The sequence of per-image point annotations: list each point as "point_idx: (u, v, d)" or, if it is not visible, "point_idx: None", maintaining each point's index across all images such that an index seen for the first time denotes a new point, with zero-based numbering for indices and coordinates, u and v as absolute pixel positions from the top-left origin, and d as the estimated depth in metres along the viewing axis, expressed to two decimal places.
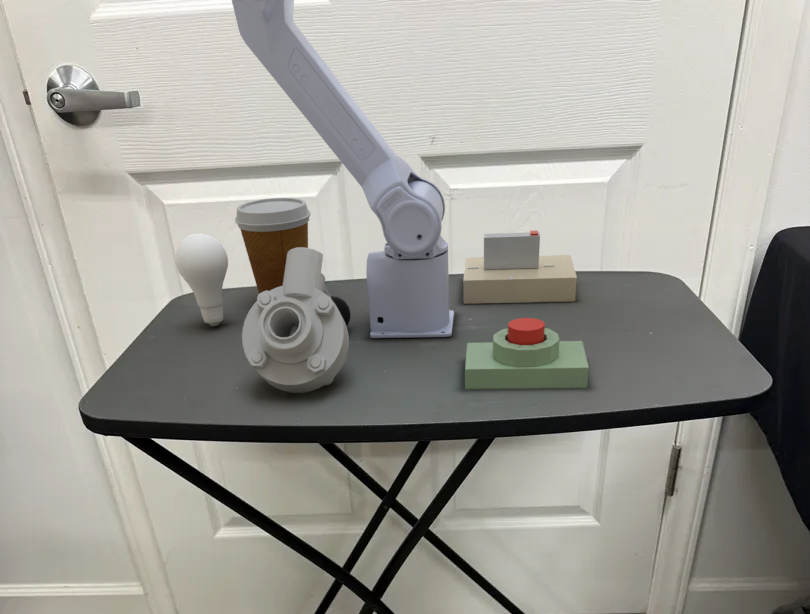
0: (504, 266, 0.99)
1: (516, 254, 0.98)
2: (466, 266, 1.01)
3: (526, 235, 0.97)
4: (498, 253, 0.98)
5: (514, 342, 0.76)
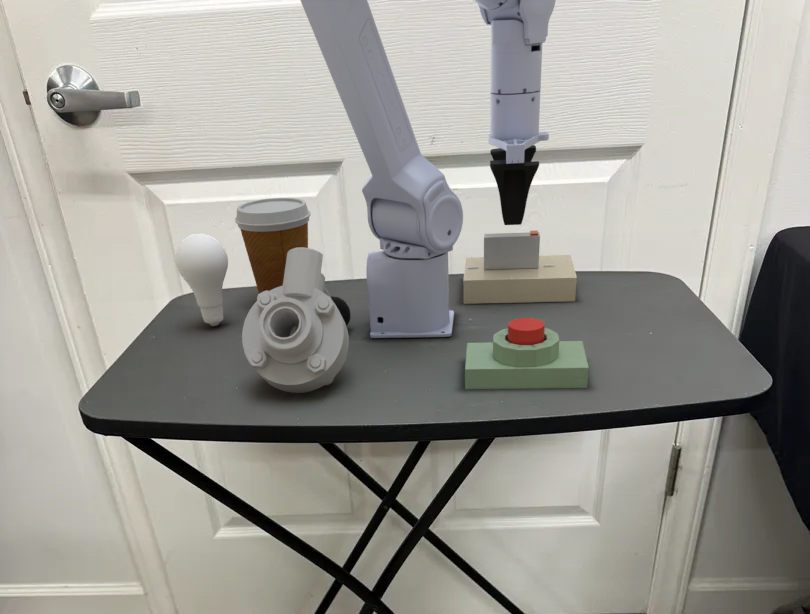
0: (504, 266, 0.99)
1: (516, 254, 0.98)
2: (466, 266, 1.01)
3: (526, 235, 0.97)
4: (498, 253, 0.98)
5: (514, 342, 0.76)
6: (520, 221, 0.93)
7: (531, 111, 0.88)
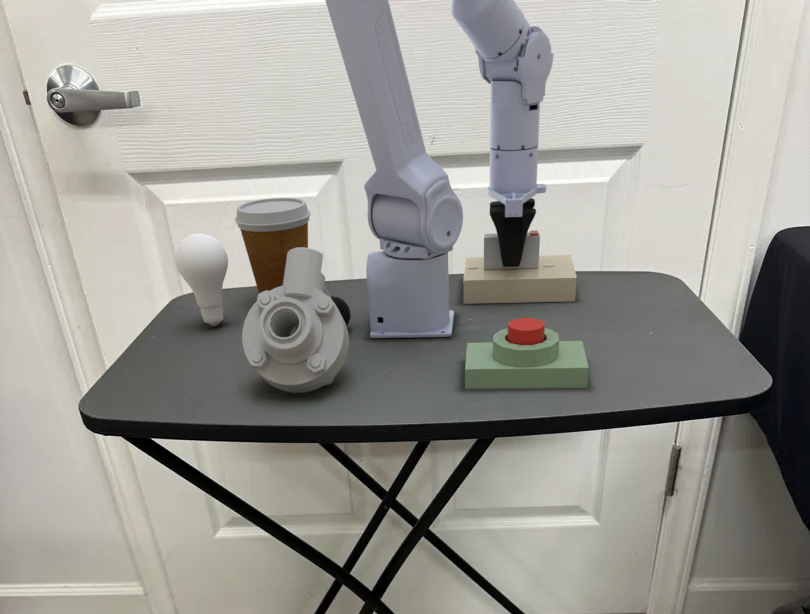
0: None
1: None
2: (466, 266, 1.01)
3: (526, 235, 0.97)
4: (498, 253, 0.98)
5: (514, 342, 0.76)
6: (518, 263, 0.98)
7: (529, 166, 0.91)
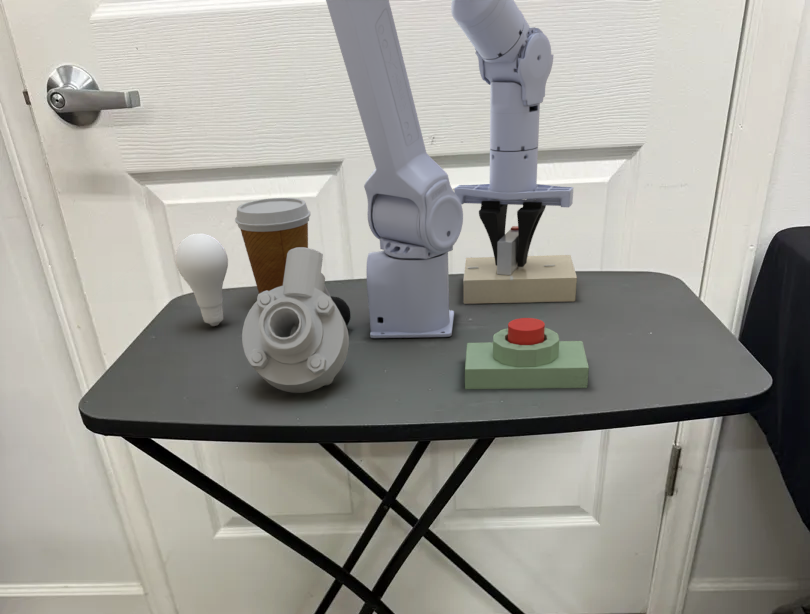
0: (516, 266, 0.99)
1: None
2: (466, 266, 1.01)
3: None
4: (514, 255, 0.97)
5: (514, 342, 0.76)
6: (526, 259, 1.00)
7: None
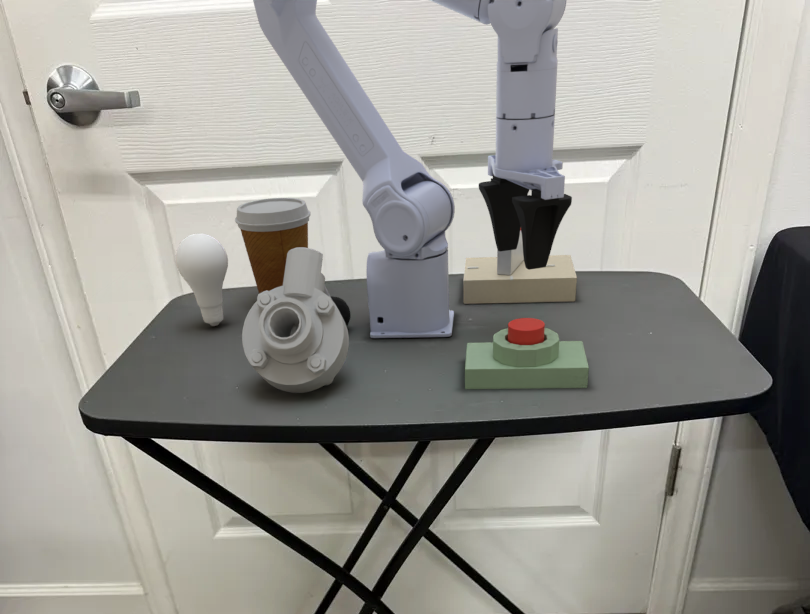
0: (516, 266, 0.99)
1: (519, 251, 0.99)
2: (466, 266, 1.01)
3: None
4: (514, 255, 0.97)
5: (514, 342, 0.76)
6: (545, 263, 0.80)
7: (551, 137, 0.75)
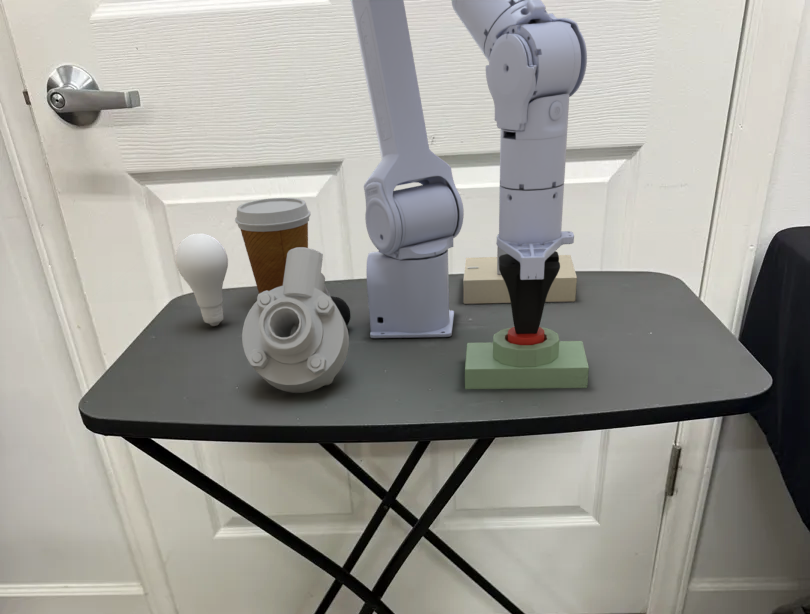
0: None
1: None
2: (466, 266, 1.01)
3: None
4: None
5: None
6: (535, 330, 0.76)
7: (552, 210, 0.68)
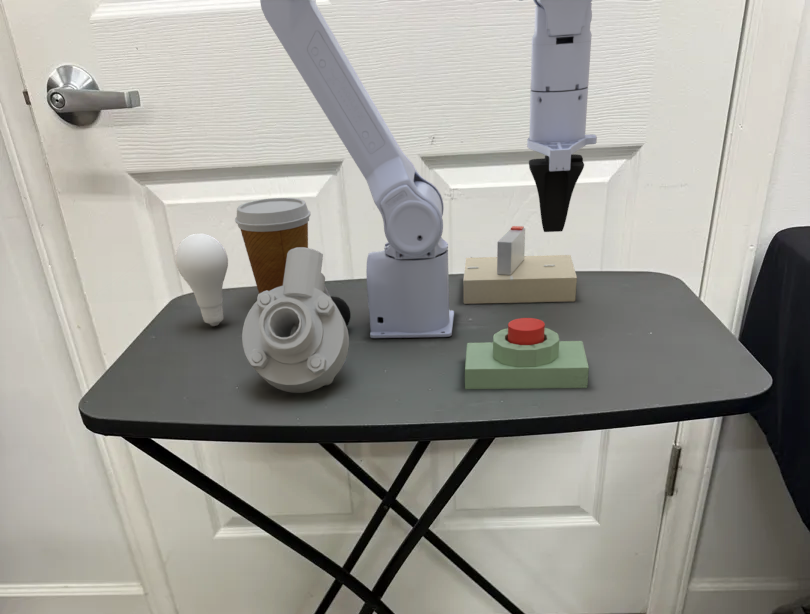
0: (516, 266, 0.99)
1: (519, 251, 0.99)
2: (466, 266, 1.01)
3: (519, 231, 0.99)
4: (514, 255, 0.97)
5: (514, 342, 0.76)
6: (561, 227, 0.84)
7: (577, 111, 0.77)
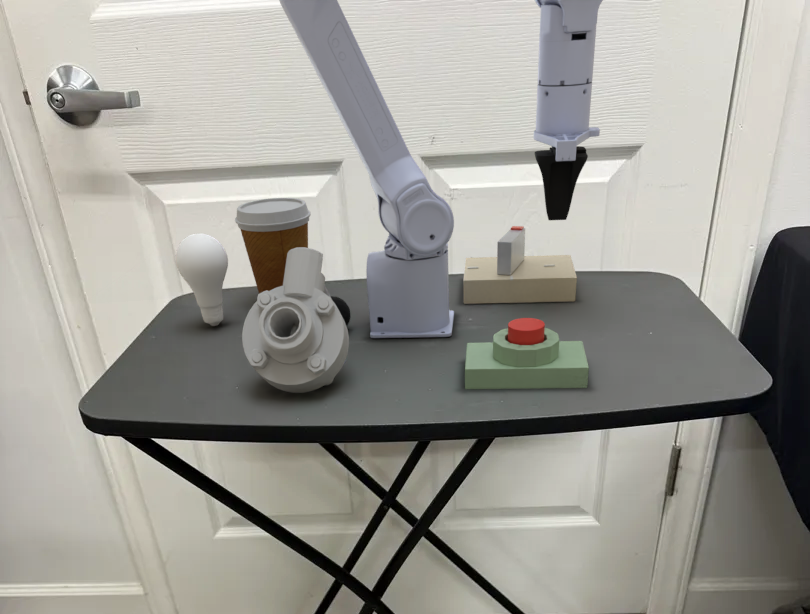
0: (516, 266, 0.99)
1: (519, 251, 0.99)
2: (466, 266, 1.01)
3: (519, 231, 0.99)
4: (514, 255, 0.97)
5: (514, 342, 0.76)
6: (565, 216, 0.89)
7: (582, 104, 0.81)
